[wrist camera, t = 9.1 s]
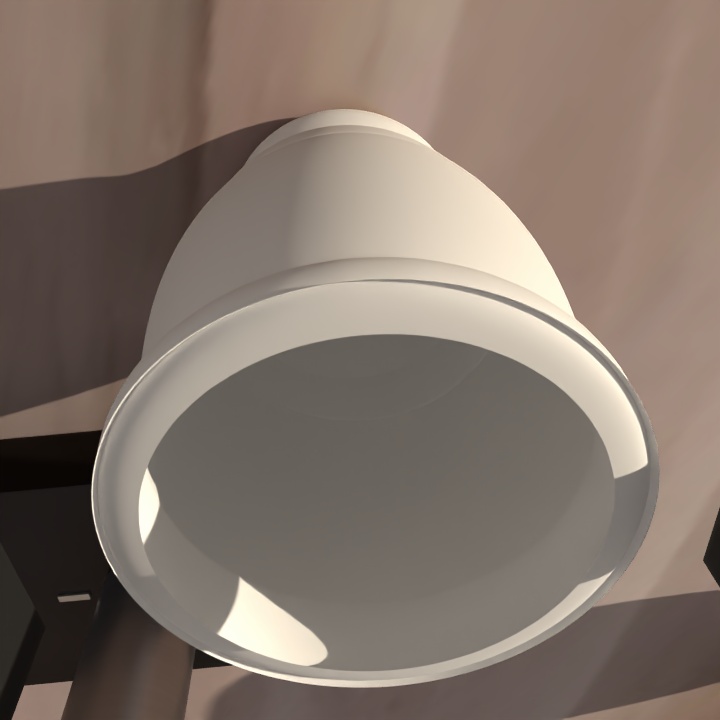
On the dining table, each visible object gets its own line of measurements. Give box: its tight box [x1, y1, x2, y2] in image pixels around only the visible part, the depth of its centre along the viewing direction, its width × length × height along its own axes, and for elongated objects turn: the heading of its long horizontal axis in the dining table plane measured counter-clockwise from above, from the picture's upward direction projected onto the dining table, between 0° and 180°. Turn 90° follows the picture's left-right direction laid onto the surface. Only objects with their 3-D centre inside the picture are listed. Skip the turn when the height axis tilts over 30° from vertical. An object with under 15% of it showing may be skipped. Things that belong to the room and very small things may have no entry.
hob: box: [0, 431, 232, 686], centre depth 31 cm, size 16×13×4 cm
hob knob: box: [61, 570, 196, 720], centre depth 27 cm, size 4×4×8 cm
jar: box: [92, 109, 659, 687], centre depth 19 cm, size 11×10×15 cm
